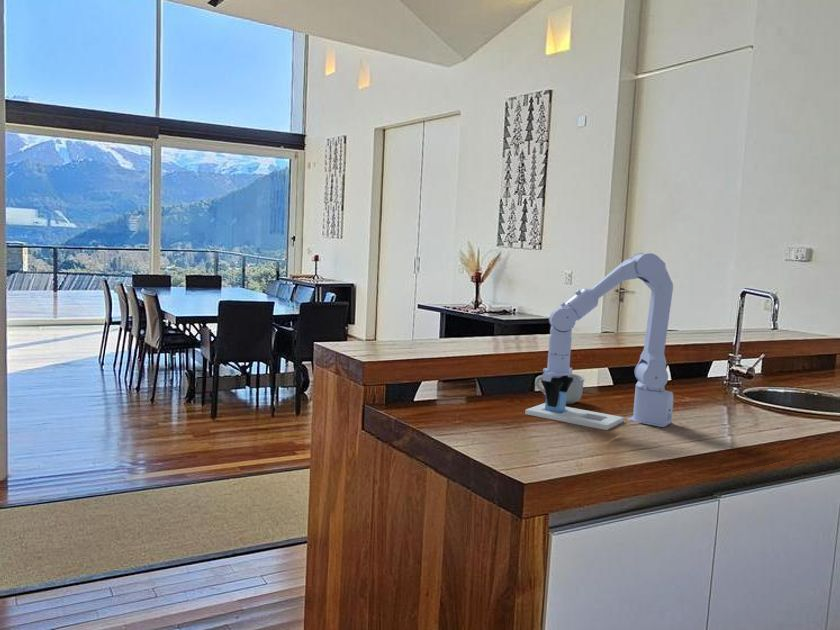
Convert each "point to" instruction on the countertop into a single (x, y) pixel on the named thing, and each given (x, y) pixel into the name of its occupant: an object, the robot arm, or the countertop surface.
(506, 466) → the countertop surface
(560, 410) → the plug
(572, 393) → the teacup
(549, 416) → the panel
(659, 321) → the robot arm
